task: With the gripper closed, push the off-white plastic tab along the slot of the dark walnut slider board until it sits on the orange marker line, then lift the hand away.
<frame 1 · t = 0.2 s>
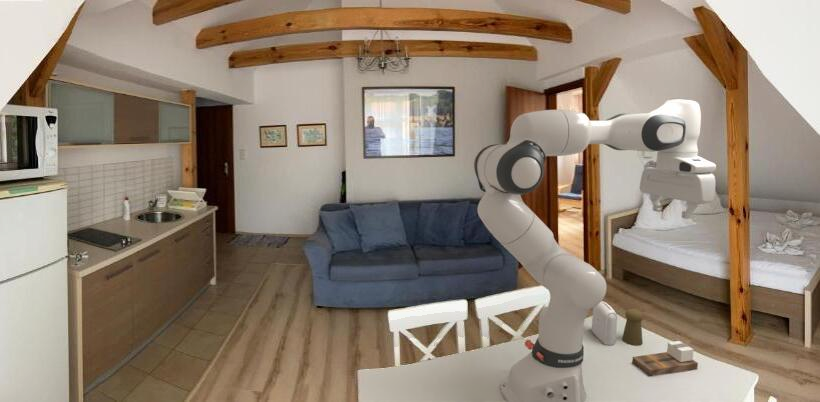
hand: (671, 214, 108), 47 cm above the table, tool pointing down, fingers open, 8 cm apart
fader tab: (679, 350, 121), point 4 cm above the table, slide at 0.0 cm
cork: (632, 341, 135), on the table
slider board: (664, 366, 121), on the table
photo printer: (602, 338, 137), on the table
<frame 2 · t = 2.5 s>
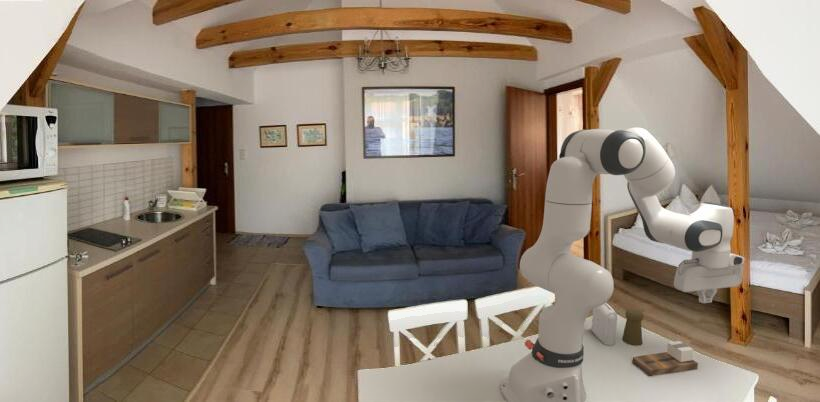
hand: (705, 302, 119), 19 cm above the table, tool pointing down, fingers closed
nothing on the table moved.
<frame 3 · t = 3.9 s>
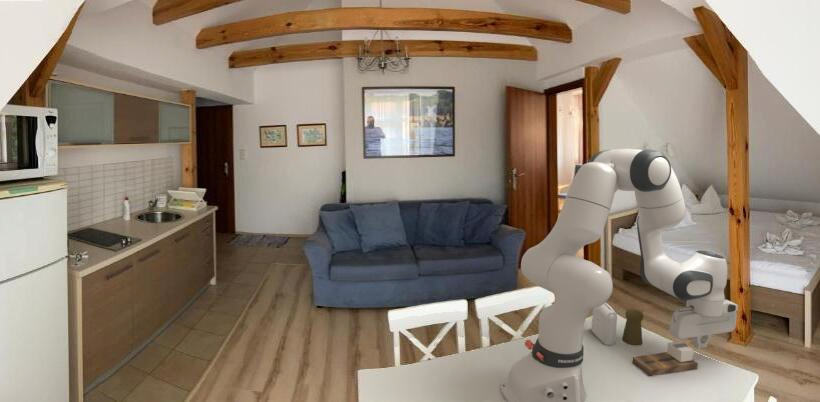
hand: (700, 347, 122), 4 cm above the table, tool pointing down, fingers closed
nothing on the table moved.
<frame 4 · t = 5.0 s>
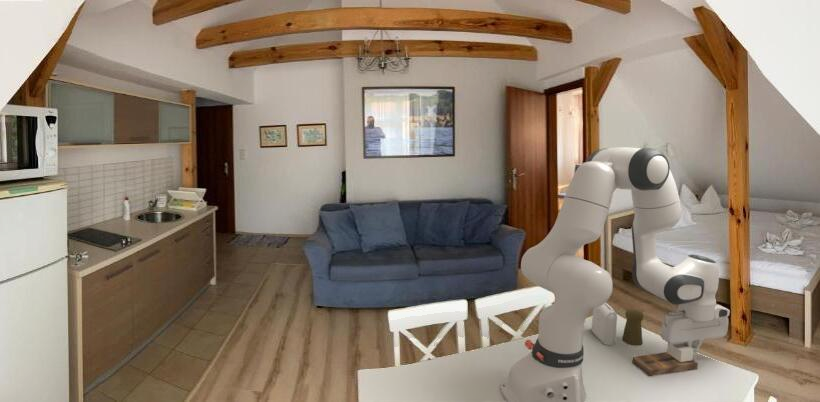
hand: (691, 352, 122), 3 cm above the table, tool pointing down, fingers closed
fader tab: (679, 350, 121), point 4 cm above the table, slide at 0.0 cm, touching gripper
everything else where it was.
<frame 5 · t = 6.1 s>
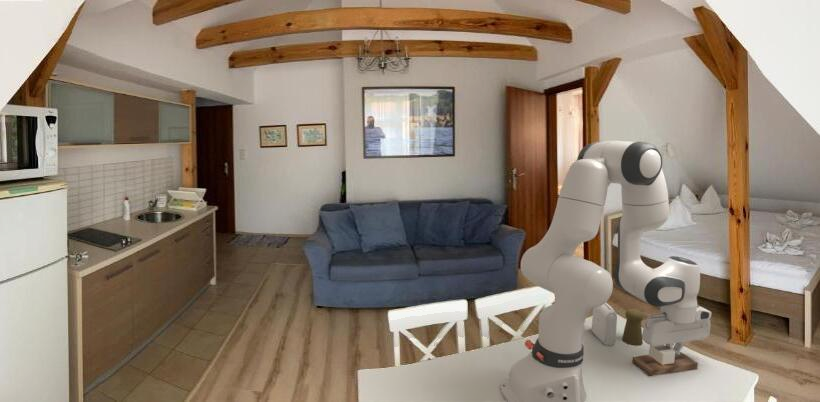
hand: (673, 354, 121), 3 cm above the table, tool pointing down, fingers closed
fader tab: (661, 353, 120), point 4 cm above the table, slide at 6.2 cm, touching gripper
everything else where it was.
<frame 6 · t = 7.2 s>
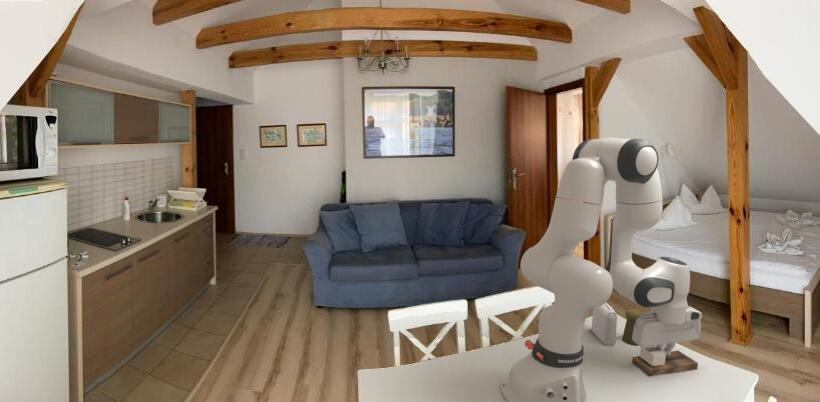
hand: (663, 355, 120), 4 cm above the table, tool pointing down, fingers closed
fader tab: (652, 354, 119), point 4 cm above the table, slide at 9.4 cm, touching gripper
everything else where it was.
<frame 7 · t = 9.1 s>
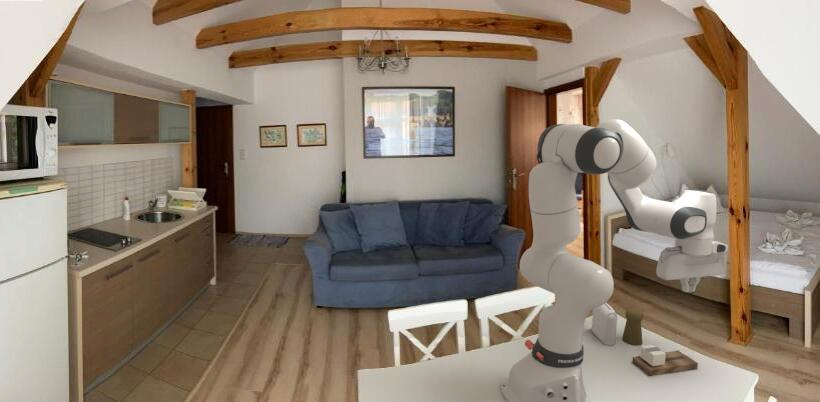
hand: (688, 291, 117), 23 cm above the table, tool pointing down, fingers closed
fader tab: (652, 354, 119), point 4 cm above the table, slide at 9.4 cm
everything else where it was.
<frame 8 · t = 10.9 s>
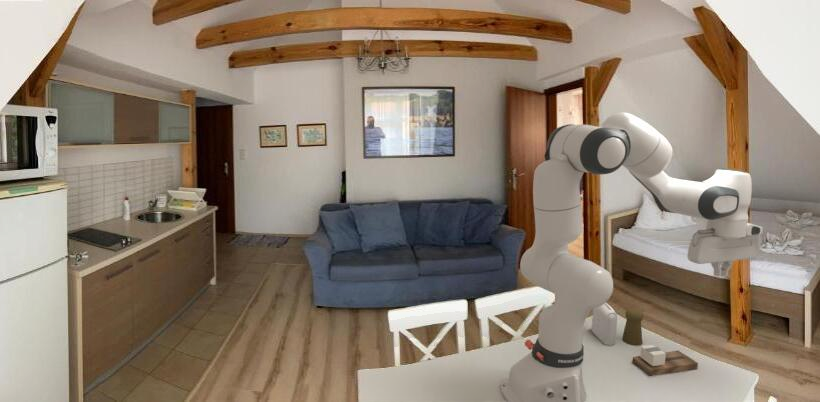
hand: (720, 275, 113), 29 cm above the table, tool pointing down, fingers closed
nothing on the table moved.
at the end: fader tab slide at 9.4 cm; cork moved 0.2 cm from its start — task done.
